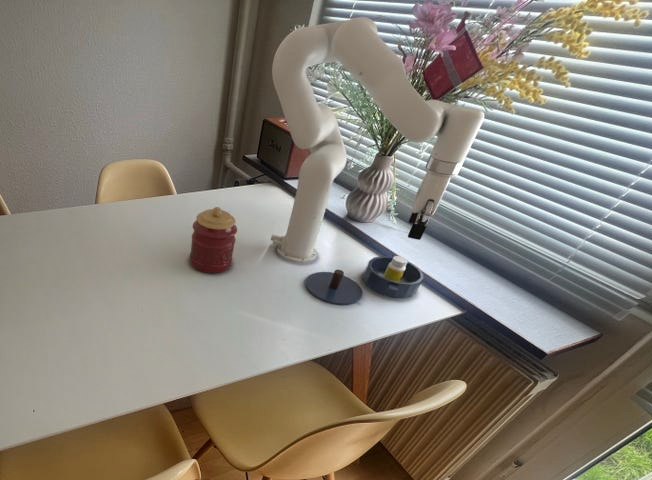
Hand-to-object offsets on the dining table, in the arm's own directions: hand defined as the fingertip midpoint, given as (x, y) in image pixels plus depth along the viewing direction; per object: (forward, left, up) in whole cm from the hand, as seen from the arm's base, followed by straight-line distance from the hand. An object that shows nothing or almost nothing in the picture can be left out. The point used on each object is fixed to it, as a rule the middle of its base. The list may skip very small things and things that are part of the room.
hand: (413, 230), depth 117 cm
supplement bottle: (0, 0, -17) cm, 17 cm away
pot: (0, 0, -18) cm, 18 cm away
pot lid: (-15, -11, -17) cm, 25 cm away
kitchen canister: (-52, -14, -18) cm, 57 cm away
